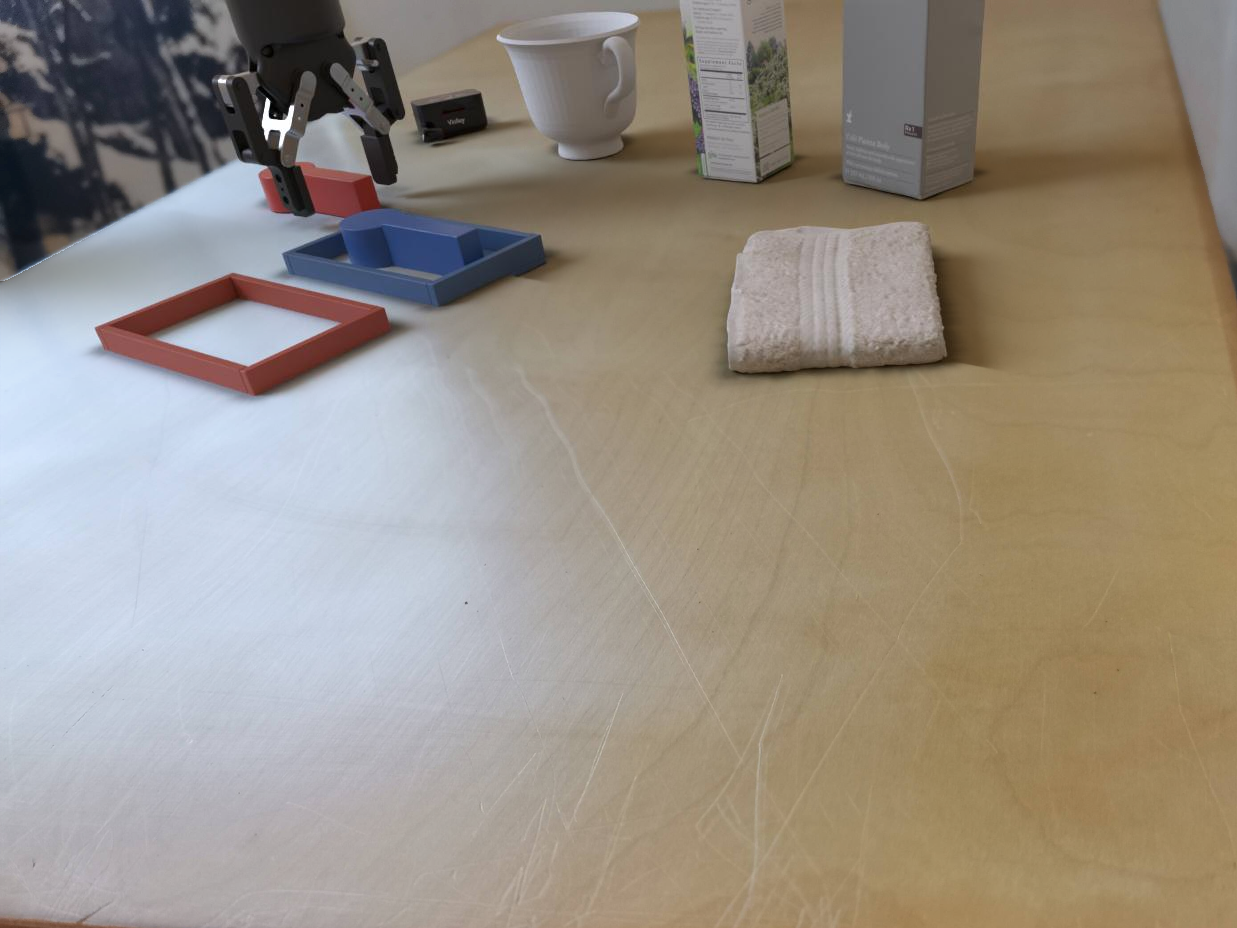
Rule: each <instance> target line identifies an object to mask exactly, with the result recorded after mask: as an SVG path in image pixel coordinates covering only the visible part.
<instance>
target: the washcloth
mask: <svg viewBox="0 0 1237 928" xmlns="http://www.w3.org/2000/svg"><path fill="white" fill-rule="evenodd" d="M933 258H934V256H933V249H932V236H931V232H930V227H929V226H927V225H926V224H924V223H923V222H920V221H896V222H890V223H885V224H878V225H873V226H871V225H870V226H862V227H859V228H858V227H857V228H839V227H838V228H837V227H829V226H827V227H826V226H814V225H813V226H812V225H802V226H798V227H789V228H782V229H775V230H765V229H764V230H759V231H756V232H754V233H752V234H751V235H750V237H748V239H747V241H746V244H745V245H744V247H743V251H742V252H738V253H737V254H736V261H735V271H734V278H733V282H732V286H731V288H730V291H731V292H730V293H731V294H730V295H731V296H730V298H731V299H730V306H729V309H728V313H727V320H726V331H727V343H726V345H727V359H728V369H729V370H730V371H736V372H739V373H743V374H744V373H748V374H761V373H780V372H783V371H784V372H795V371H796V372H797V371H800V370H802V369H803V370H804V369H814V368H817V369H824V368H840V367H850V368H853V369H859V368H871V367H884V366H906V365H910V364H911V365H919V364H920V365H921V364H931V363H936V362H938V361H942V360H943V358H947V356H948V352H947V347H946V340H945V338H944V330H945V326H944V325H943V321H942V316H941V310H942V308H941V306H940V305H941V302H940V297H939V296H938V291H937V287H938V286H937V285H936V283H937V281H938V279H937V277H938V275H937V274H936V273H935V262H934V260H933Z"/></svg>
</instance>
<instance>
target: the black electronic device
mask: <svg viewBox="0 0 1237 928" xmlns="http://www.w3.org/2000/svg"><path fill="white" fill-rule="evenodd" d="M410 106H411V109H412V113H413V117H414V120H415V125H416V128H417V132H418V134H419V135H420V139H421V142H423V144H432V143H435V142H438V141H441V140H442V139H445V138H450V137H455V136H458V135H462V134H466V133H472V132H477V131H480V130H484V129H486V128H488V125H489V121H488V120H489V119H488V117H487V116H488V115H487V112H486V108H485V103H484V98H483V94H482V92H481V91H480V90H479V89H476V88H467V89H462V90H457V91H453V92H452V91H451V92H448V93H444V94H437V95H432V96H428V97H424V98H418V99H414V100H411V101H410Z"/></svg>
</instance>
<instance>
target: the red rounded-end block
mask: <svg viewBox="0 0 1237 928" xmlns="http://www.w3.org/2000/svg"><path fill="white" fill-rule="evenodd" d="M294 165H299V166H300V167H301V170H302V173H303V176H304V179H305V181H306V184H307V187H308V190H309V193H310V196H311V199H312V202H313V205H314V208H315V213H318V214H324V215H331V216H335V217H341V218H347V217H349V216H351V215H354V214H357V213H360V212H364V211H369V210H375V209H382V206H381V203H380V200H379V196H378V193H377V190H376V187H375V182H374V180H373V178H372V175H371V174H365V173H358V172H350V171H345V170H338V169H332V168H331V169H330V168H324V167H316V165H315V163H313V162H310V161H295V164H294ZM258 179H259V182H260V184H261V187H262V190H263V193H264V196H265V199H266V201H267V204H268V207H269V210H270V211H271V212H272V213H273V212H274V213H277V214H278V213H279V214H288V213H291V211H290V210H286V208H285V207H284V206H283V205H282V202H281V199H280V196H279V194H278V190H277V188H276V185H275V182H274V180H273V177H272V174H271V171H270V170H269V168H268V167H267V168H264V169H263V170H261V171H260V172H259V173H258ZM291 214H292V213H291Z"/></svg>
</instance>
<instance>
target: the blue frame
mask: <svg viewBox="0 0 1237 928" xmlns="http://www.w3.org/2000/svg"><path fill="white" fill-rule="evenodd" d="M403 212H404V214H405V216H407V217H413V218H418V219H424V220H430V221H436V222H442V223H448V224H454V225H460V226H466V227H472V228H477V230H478V234H479V238H480V242H481V246H482V250H483V254H484V257H483V258H481V259H479V260H477V261H475V262H473V263H470V264H468V265H466V266H464V267H462V268H460V269H457V270H455V271H453V272H451V273H449V274H447V275H444V276H442V275H441V276H440V277H438V278H436V279H434V280H431V279H429V278H428V279H427V278H422V277H417V276H413V275H409V274H404V273H400V272H399V273H398V272H393V271H390V270H389V271H388V270H384V269H380V268H377V269H375V268H370V267H365V266H360V265H355V264H351V262H345V261H341V260H335V259H336V258H337V257H340V256H343V255H344V254H348V252H347V249H346V245H345V242H344V239H343V236H342V233H341V230H340V229H339V230H337V231H335V232H332V233H330V234H327V235H324V236H322V237H320V238H317V239H315V240H312V241H309V242H307V243H304V244H301V245H299V246H297V247H294V248H291V249H289V250H286V251H284V252H282V253H281V256H282V258H283V260H284V264H285V267H286V270H287V272H288V274H289V275H293V276H298V277H302V278H307V279H312V280H316V281H320V282H325V283H329V284H334V285H338V286H343V287H347V288H352V289H356V290H362V291H366V292H371V293H375V294H379V295H383V296H388V297H393V298H397V299H402V300H407V301H411V302H416V303H420V304H424V305H428V306H433V307H438V308H439V307H442V306H444V305H446V304H448V303H449V302H452V301H454V300H456V299H458V298H461V297H462V296H464V295H466V294H468V293H470V292H472V291H474V290H477V289H479V288H481V287H484V286H485V285H487V284H489V283H491V282H493V281H495V280H498V279H499V278H502V277H504V276H505V275H506V276H512V277H519V276H521V275H522V274H525V273H527V272H529V271H531V270H533V269H536V268H537V267H539V266H541V265H543V264H545V263H547V258H546V253H545V247H544V243H543V238H542V235H541V234H540V233H539V234H538V233H532V232H527V231H520V230H515V229H507V228H502V227H495V226H490V225H485V224H484V225H483V224H479V223H472V222H466V221H461V220H455V219H450V218H443V217H437V216H431V215H425V214H419V213H413V212H408V211H403Z"/></svg>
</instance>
